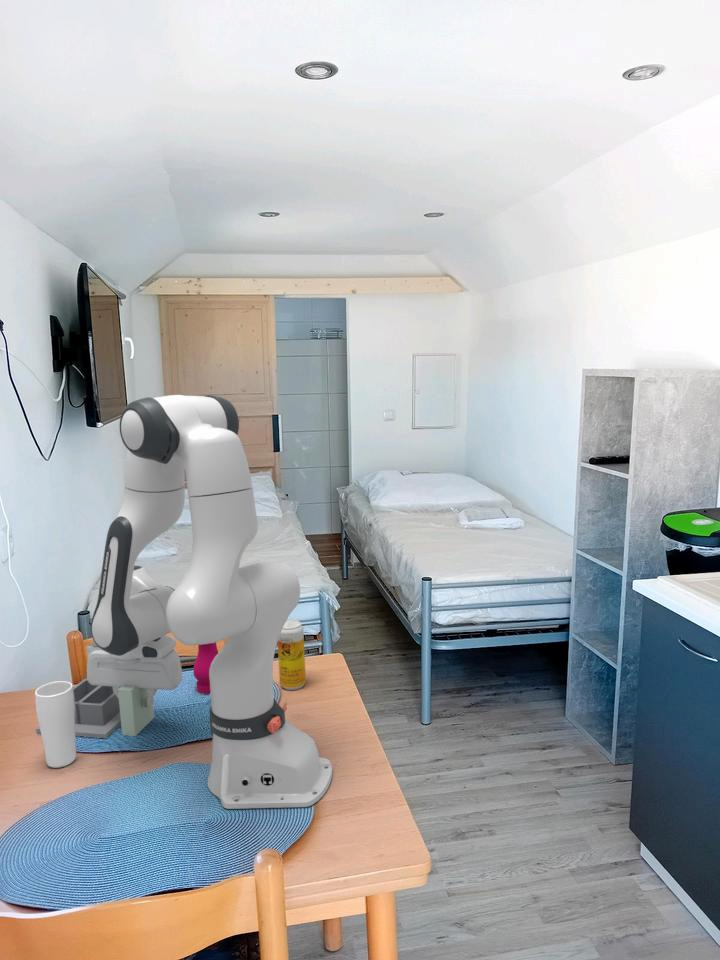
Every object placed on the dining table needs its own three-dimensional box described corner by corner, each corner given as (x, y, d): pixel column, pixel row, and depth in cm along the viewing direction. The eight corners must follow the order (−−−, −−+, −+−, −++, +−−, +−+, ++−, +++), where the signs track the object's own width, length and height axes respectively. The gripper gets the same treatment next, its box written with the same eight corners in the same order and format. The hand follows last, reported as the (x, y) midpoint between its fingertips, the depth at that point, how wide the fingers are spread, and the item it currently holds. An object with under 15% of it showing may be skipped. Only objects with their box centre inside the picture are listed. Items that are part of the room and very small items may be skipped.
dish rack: (149, 698, 162) (147, 675, 161) (105, 739, 144) (103, 713, 143) (86, 694, 165) (83, 672, 164) (36, 733, 147) (33, 708, 147)
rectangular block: (154, 717, 153) (150, 673, 151) (135, 736, 145) (131, 690, 143) (141, 716, 153) (137, 672, 152) (122, 735, 146) (117, 689, 144)
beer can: (276, 690, 163) (273, 628, 161) (284, 679, 169) (280, 619, 167) (302, 691, 162) (299, 629, 160) (308, 680, 168) (305, 620, 166)
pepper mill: (232, 685, 167) (227, 604, 164) (210, 697, 161) (204, 613, 158) (210, 679, 171) (204, 599, 168) (188, 690, 165) (181, 608, 162)
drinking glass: (66, 772, 132) (58, 697, 130) (34, 769, 134) (26, 695, 131) (87, 753, 139) (80, 681, 136) (56, 750, 140) (49, 679, 138)
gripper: (77, 646, 145) (83, 709, 147) (169, 651, 141) (174, 715, 143) (94, 635, 151) (100, 695, 154) (183, 639, 147) (187, 701, 149)
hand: (136, 705), depth 148 cm, fingers open, 4 cm apart
